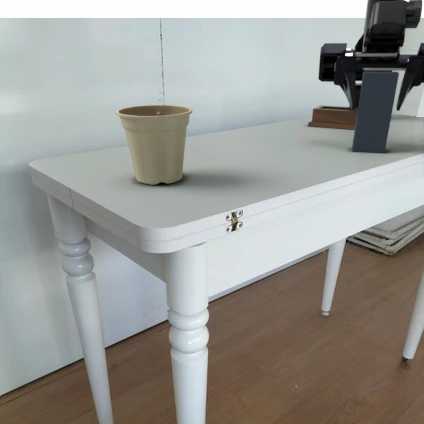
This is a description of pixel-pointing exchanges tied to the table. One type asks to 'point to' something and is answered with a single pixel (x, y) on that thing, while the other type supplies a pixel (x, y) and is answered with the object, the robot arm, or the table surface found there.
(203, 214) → the table surface
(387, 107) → the back pad
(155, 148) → the flower pot
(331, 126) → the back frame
